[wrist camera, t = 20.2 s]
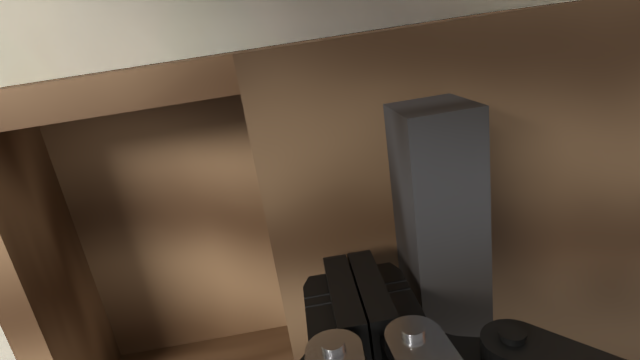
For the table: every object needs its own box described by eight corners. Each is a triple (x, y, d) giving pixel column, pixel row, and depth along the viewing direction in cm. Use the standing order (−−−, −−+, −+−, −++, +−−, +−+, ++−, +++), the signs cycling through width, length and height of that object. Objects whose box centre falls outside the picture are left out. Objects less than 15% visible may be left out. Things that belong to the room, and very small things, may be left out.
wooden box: (4, 86, 17) (-101, 104, 12) (491, 12, 18) (568, 2, 13) (109, 368, 22) (62, 460, 17) (496, 297, 22) (554, 366, 18)
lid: (235, 53, 13) (220, 58, 9) (868, -45, 14) (1058, -71, 10) (307, 415, 17) (315, 505, 14) (780, 325, 18) (893, 389, 15)
